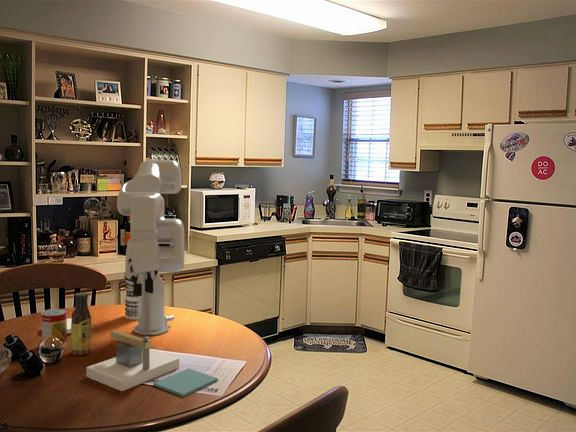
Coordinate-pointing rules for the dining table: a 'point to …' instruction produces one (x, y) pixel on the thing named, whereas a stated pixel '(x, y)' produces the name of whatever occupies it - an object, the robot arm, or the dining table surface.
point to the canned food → (55, 324)
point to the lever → (131, 339)
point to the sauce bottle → (81, 326)
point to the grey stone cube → (128, 354)
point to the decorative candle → (130, 300)
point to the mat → (185, 382)
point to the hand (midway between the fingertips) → (143, 293)
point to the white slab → (132, 370)
